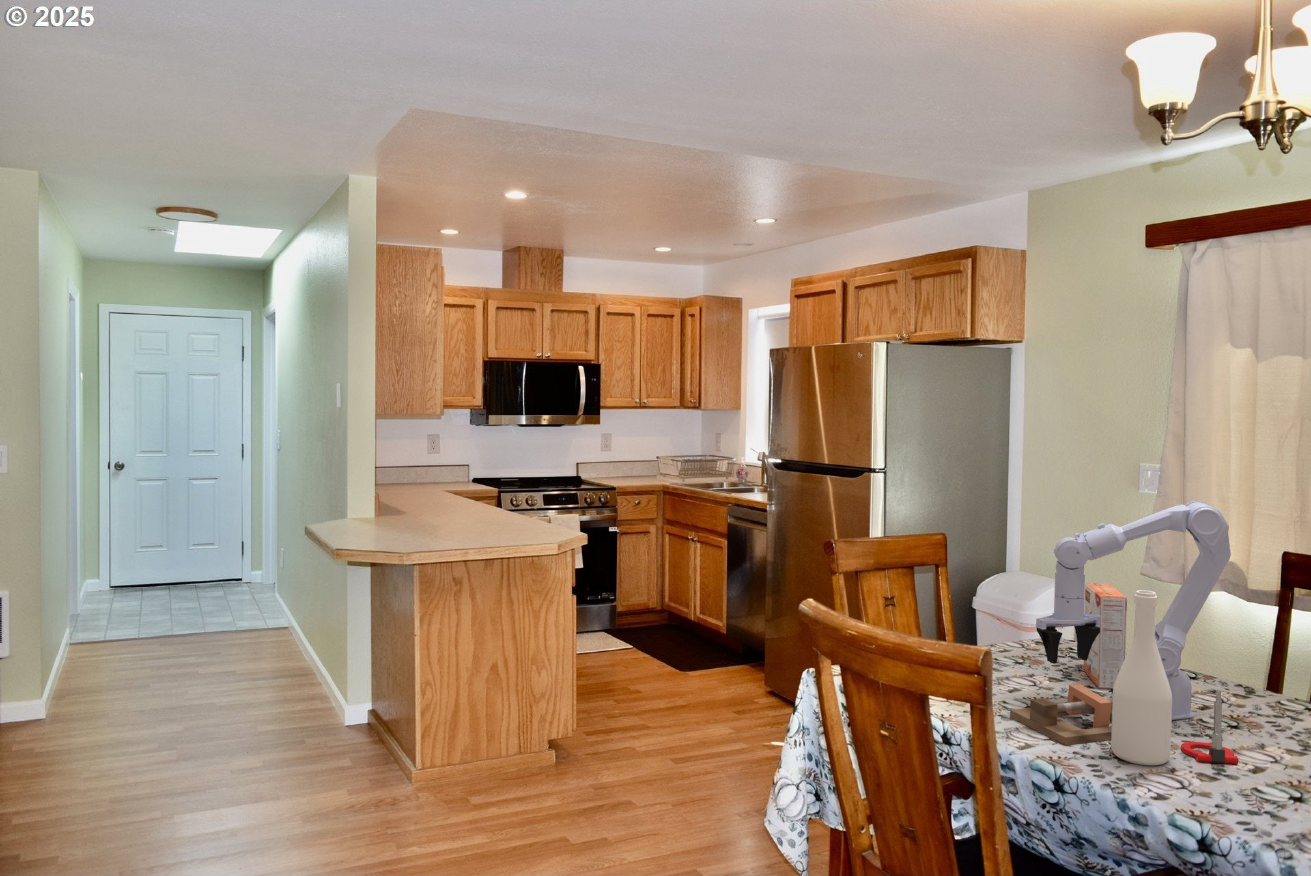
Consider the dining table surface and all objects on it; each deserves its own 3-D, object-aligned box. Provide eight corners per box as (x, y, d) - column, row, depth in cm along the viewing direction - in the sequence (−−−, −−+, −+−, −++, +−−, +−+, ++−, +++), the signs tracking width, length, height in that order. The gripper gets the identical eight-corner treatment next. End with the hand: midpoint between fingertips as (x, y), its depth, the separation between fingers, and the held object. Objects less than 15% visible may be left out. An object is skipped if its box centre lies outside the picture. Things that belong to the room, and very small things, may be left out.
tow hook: (1173, 746, 184) (1193, 762, 174) (1175, 677, 184) (1194, 690, 174) (1222, 749, 182) (1244, 766, 173) (1224, 680, 182) (1246, 693, 173)
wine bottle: (1100, 747, 181) (1106, 586, 180) (1150, 746, 182) (1156, 586, 180) (1128, 767, 172) (1134, 597, 170) (1181, 766, 173) (1187, 597, 171)
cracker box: (1081, 670, 230) (1084, 582, 229) (1109, 672, 229) (1112, 583, 228) (1095, 689, 216) (1098, 594, 215) (1125, 690, 215) (1128, 596, 214)
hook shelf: (1107, 706, 205) (1108, 680, 204) (1168, 732, 189) (1169, 704, 189) (1010, 717, 198) (1010, 690, 197) (1065, 745, 182) (1066, 716, 182)
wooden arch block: (1076, 711, 198) (1079, 683, 198) (1108, 730, 190) (1111, 702, 189) (1066, 712, 198) (1069, 684, 197) (1098, 731, 189) (1101, 703, 188)
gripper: (1084, 590, 210) (1082, 652, 211) (1027, 594, 206) (1025, 658, 206) (1108, 597, 203) (1106, 661, 204) (1050, 601, 199) (1048, 667, 200)
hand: (1067, 660), depth 205 cm, fingers open, 7 cm apart
